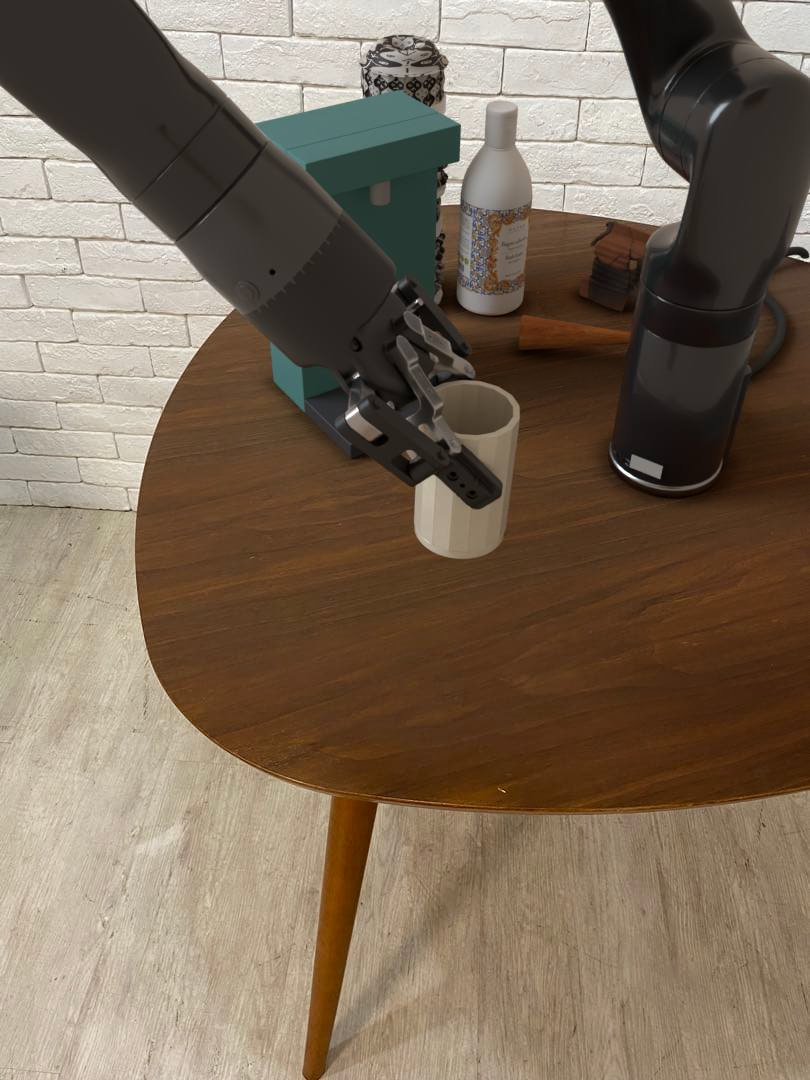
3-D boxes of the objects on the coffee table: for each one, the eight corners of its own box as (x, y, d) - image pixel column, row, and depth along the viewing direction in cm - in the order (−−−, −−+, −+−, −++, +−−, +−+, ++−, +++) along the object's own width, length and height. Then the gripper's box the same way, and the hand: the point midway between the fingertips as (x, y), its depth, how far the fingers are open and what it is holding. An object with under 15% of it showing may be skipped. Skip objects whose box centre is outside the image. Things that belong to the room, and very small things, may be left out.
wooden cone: (526, 293, 103) (738, 302, 98) (524, 350, 106) (730, 362, 102) (518, 312, 98) (741, 323, 94) (516, 373, 101) (732, 385, 97)
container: (461, 487, 68) (471, 369, 61) (523, 532, 65) (540, 412, 58) (395, 523, 65) (399, 403, 59) (457, 572, 62) (468, 451, 56)
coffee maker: (398, 338, 104) (398, 89, 88) (482, 407, 95) (500, 145, 79) (273, 381, 98) (248, 124, 82) (351, 459, 90) (340, 188, 73)
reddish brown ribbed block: (555, 287, 112) (584, 211, 110) (621, 310, 117) (650, 237, 115) (620, 313, 103) (653, 230, 100) (689, 336, 107) (722, 257, 105)
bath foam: (482, 324, 106) (494, 125, 92) (443, 295, 110) (449, 101, 97) (536, 305, 109) (555, 109, 95) (495, 278, 113) (509, 87, 99)
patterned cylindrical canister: (343, 306, 108) (334, 52, 92) (379, 266, 115) (377, 22, 98) (425, 324, 106) (431, 66, 89) (458, 283, 112) (469, 34, 95)
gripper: (303, 282, 47) (539, 516, 54) (362, 154, 57) (553, 364, 64) (200, 370, 51) (432, 577, 58) (272, 236, 61) (461, 424, 68)
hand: (495, 464), depth 61 cm, fingers closed on container, 5 cm apart
